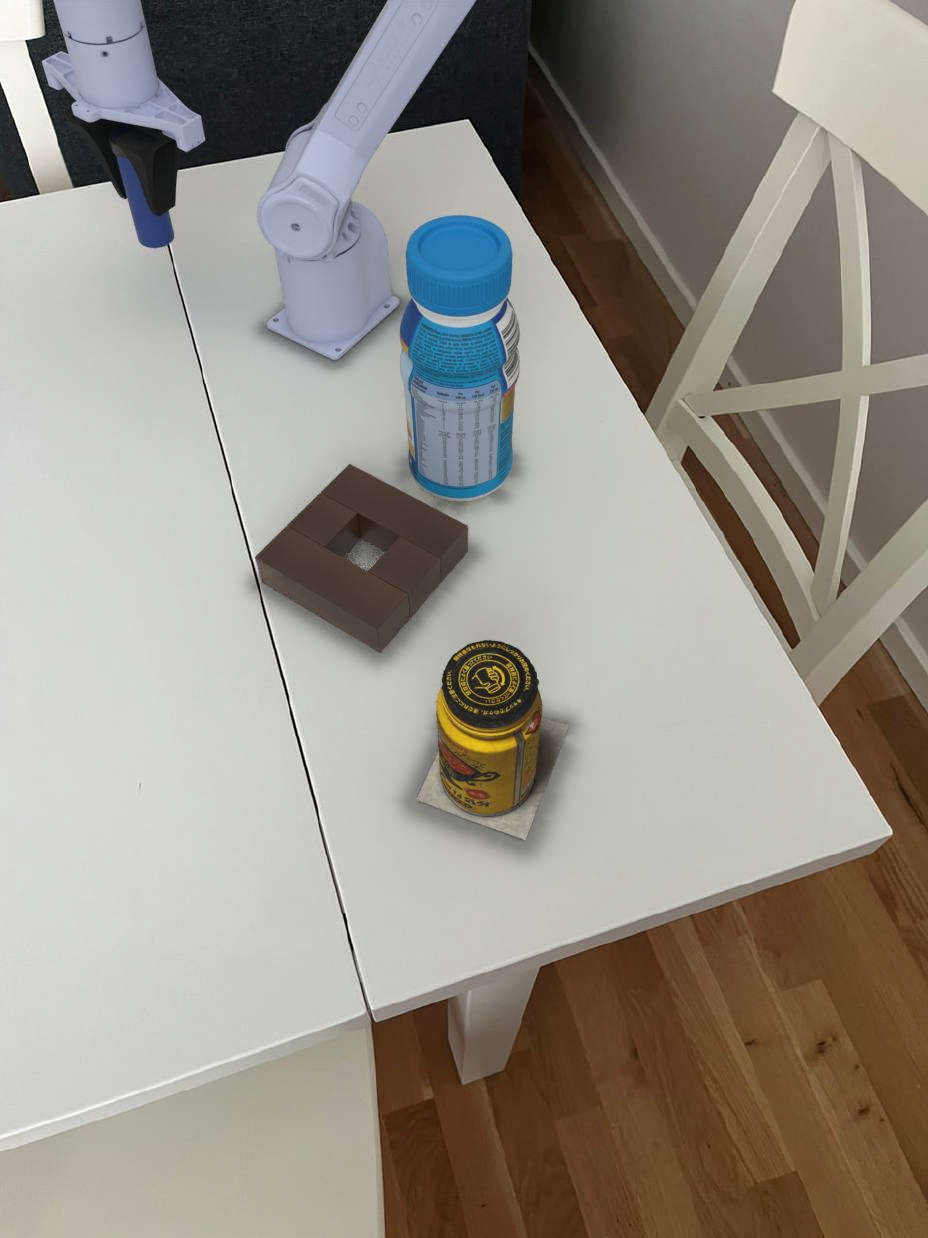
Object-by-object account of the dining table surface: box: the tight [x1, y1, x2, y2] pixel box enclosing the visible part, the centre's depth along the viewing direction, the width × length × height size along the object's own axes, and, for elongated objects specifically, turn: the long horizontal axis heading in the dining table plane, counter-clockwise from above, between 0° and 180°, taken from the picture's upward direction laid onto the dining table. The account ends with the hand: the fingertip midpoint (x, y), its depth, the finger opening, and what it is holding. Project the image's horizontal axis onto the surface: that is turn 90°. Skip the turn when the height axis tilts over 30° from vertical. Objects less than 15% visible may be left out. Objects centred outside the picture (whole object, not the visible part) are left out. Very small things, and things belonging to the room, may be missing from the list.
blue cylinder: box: [108, 124, 175, 249], centre depth 80 cm, size 3×3×9 cm
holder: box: [254, 463, 469, 653], centre depth 71 cm, size 11×11×3 cm
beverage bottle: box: [399, 214, 521, 502], centre depth 70 cm, size 8×8×20 cm
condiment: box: [415, 639, 570, 841], centre depth 58 cm, size 7×8×12 cm
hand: (147, 200), depth 81 cm, fingers closed on blue cylinder, 3 cm apart
